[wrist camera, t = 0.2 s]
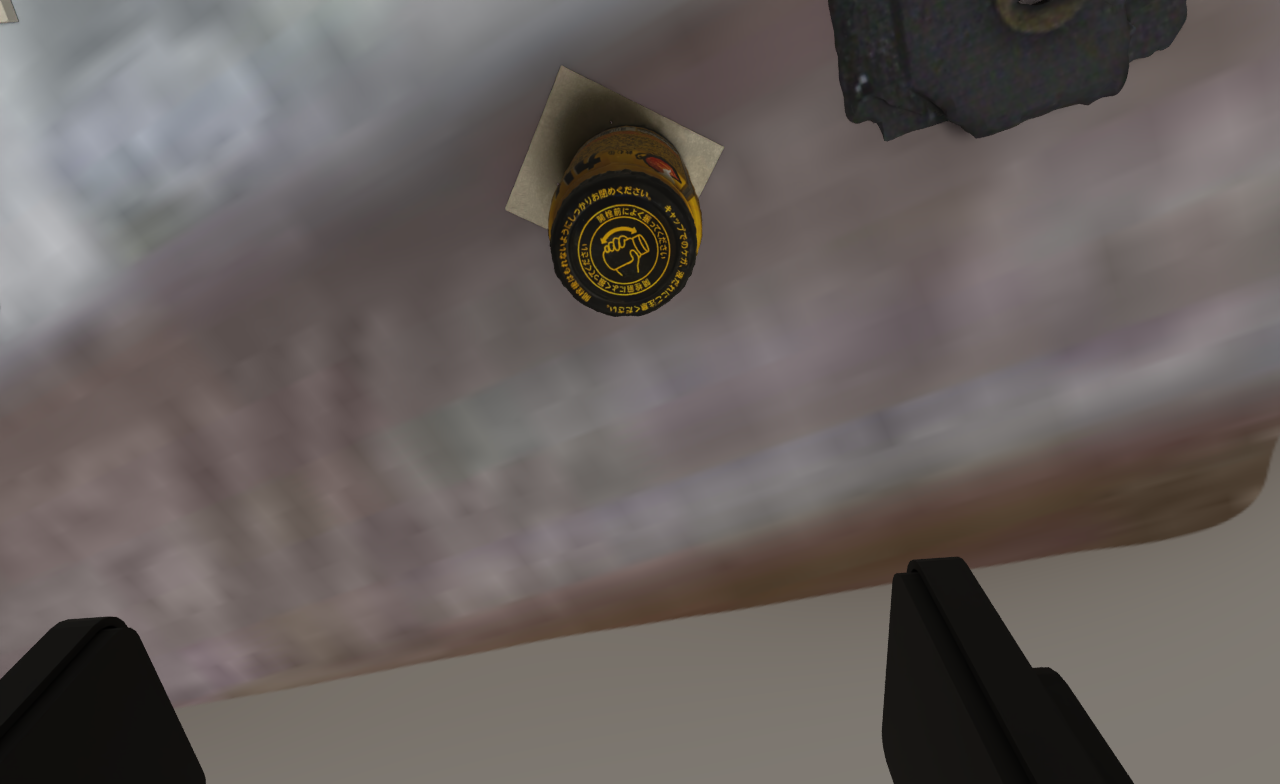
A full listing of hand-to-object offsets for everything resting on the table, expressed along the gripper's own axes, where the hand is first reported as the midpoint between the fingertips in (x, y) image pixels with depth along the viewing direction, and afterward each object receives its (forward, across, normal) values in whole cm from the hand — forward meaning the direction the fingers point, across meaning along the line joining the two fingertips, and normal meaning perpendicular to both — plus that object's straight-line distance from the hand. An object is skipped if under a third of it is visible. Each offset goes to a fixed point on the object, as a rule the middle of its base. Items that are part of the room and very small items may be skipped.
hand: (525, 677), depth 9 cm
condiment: (+31, 0, -1) cm, 31 cm away
